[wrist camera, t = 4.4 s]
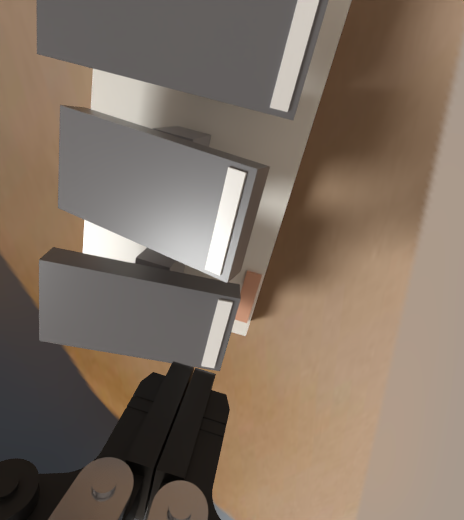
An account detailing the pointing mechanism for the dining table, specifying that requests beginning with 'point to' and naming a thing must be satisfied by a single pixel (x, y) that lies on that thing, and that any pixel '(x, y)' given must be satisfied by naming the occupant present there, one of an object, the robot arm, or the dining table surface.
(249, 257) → the switch panel
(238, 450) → the dining table surface
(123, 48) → the near rocker
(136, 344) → the far rocker
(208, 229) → the middle rocker
